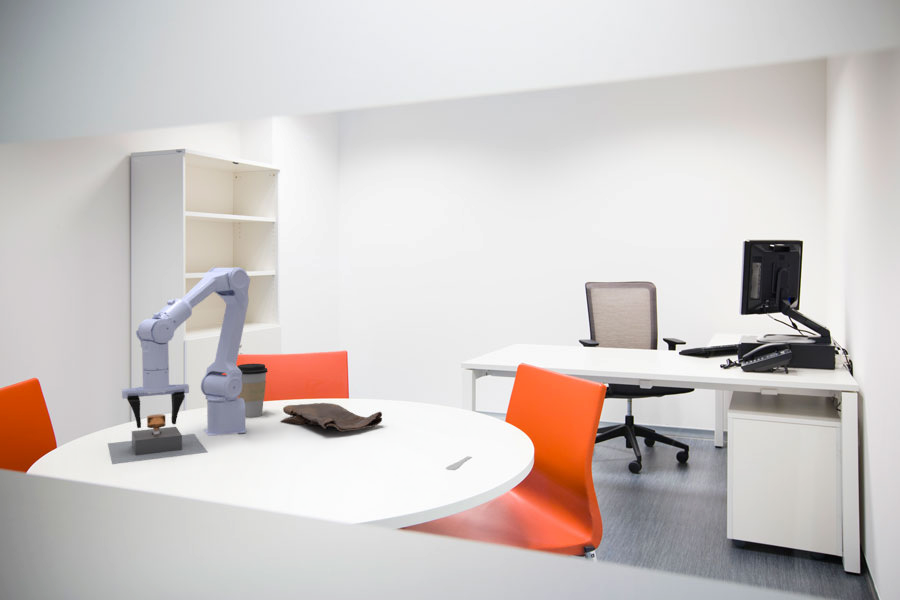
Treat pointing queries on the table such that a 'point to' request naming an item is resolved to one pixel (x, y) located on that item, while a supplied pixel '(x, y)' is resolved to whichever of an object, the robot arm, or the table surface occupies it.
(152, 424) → the plunger
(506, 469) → the table surface
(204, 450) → the board
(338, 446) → the table surface
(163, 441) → the block
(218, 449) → the table surface
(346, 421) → the folded brown cloth
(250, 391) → the coffee cup
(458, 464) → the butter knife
